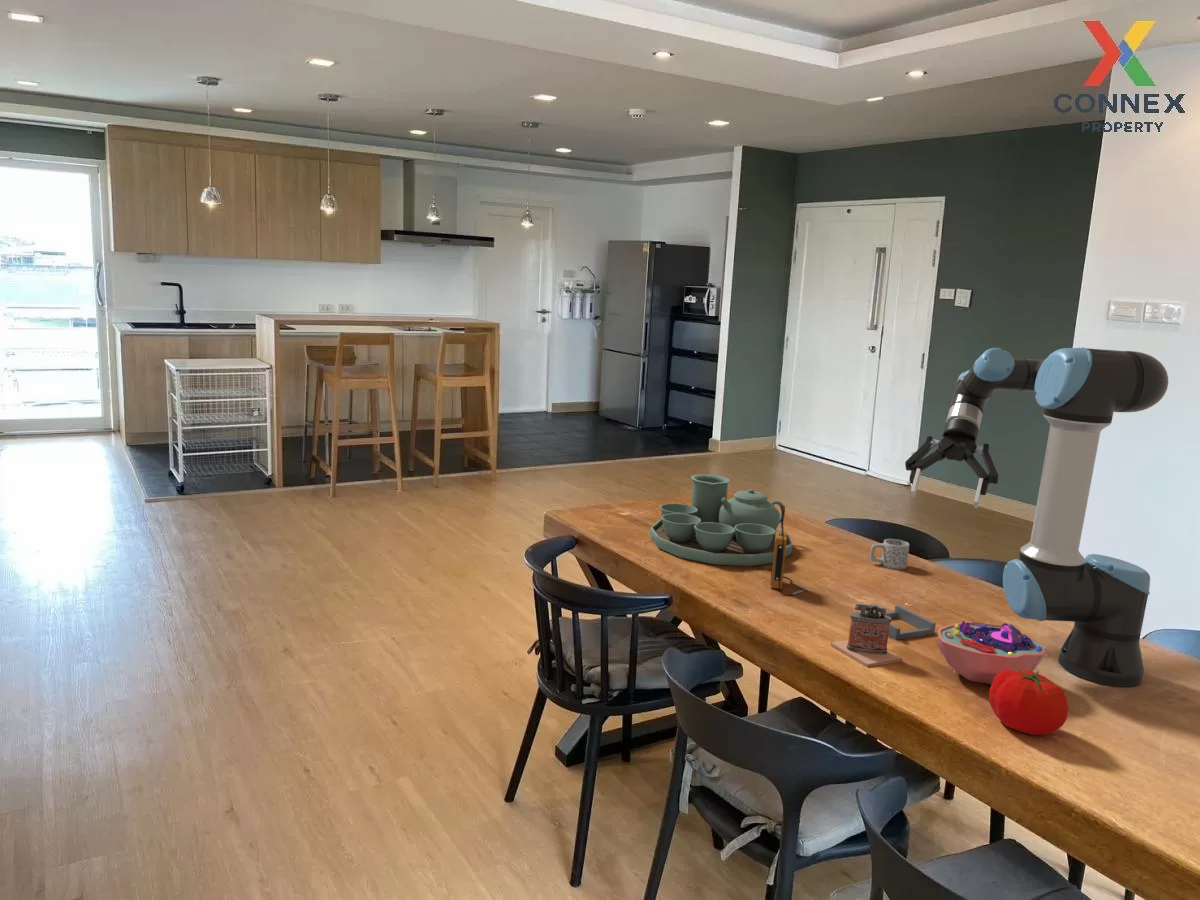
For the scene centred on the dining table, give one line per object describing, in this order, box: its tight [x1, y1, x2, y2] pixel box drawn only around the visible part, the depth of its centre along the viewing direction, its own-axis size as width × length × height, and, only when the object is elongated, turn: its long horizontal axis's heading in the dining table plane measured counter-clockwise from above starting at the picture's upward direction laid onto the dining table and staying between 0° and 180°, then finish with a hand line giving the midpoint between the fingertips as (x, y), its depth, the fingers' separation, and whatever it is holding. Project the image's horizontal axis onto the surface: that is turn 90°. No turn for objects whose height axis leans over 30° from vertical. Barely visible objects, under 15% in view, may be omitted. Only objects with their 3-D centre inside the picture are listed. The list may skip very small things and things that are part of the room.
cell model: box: [937, 620, 1048, 685], centre depth 171 cm, size 17×20×11 cm
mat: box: [830, 639, 903, 668], centre depth 181 cm, size 11×9×1 cm
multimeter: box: [770, 504, 812, 597], centre depth 217 cm, size 15×10×20 cm
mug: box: [869, 538, 910, 571], centre depth 240 cm, size 10×7×7 cm, turn 84°
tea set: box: [649, 474, 794, 567], centre depth 249 cm, size 40×40×16 cm
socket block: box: [865, 604, 937, 641], centre depth 196 cm, size 11×11×2 cm
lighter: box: [847, 602, 892, 655], centre depth 180 cm, size 8×3×10 cm, turn 83°
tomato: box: [988, 666, 1069, 736], centre depth 152 cm, size 11×13×10 cm
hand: (943, 499), depth 199 cm, fingers open, 13 cm apart
